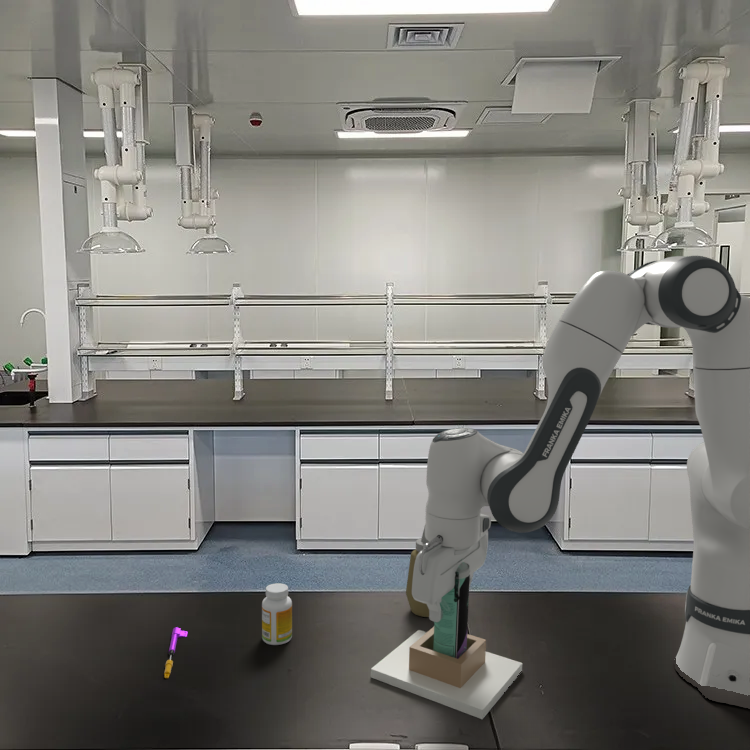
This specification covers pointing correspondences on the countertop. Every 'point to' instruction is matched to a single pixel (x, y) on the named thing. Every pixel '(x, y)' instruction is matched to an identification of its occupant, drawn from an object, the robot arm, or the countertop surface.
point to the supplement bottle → (276, 615)
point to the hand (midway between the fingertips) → (449, 608)
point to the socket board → (449, 673)
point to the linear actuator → (173, 649)
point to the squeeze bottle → (415, 606)
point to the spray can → (454, 616)
